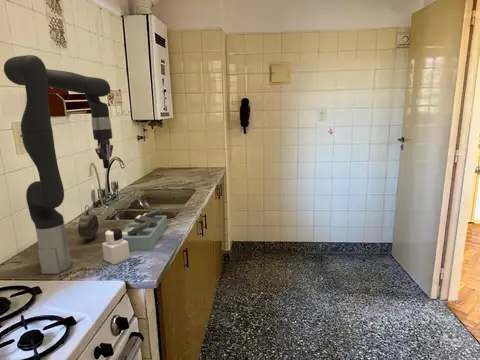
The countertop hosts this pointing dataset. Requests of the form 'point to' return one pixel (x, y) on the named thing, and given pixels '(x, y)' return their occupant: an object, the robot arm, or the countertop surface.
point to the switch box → (145, 234)
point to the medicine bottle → (115, 247)
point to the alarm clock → (88, 225)
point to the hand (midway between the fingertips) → (107, 168)
